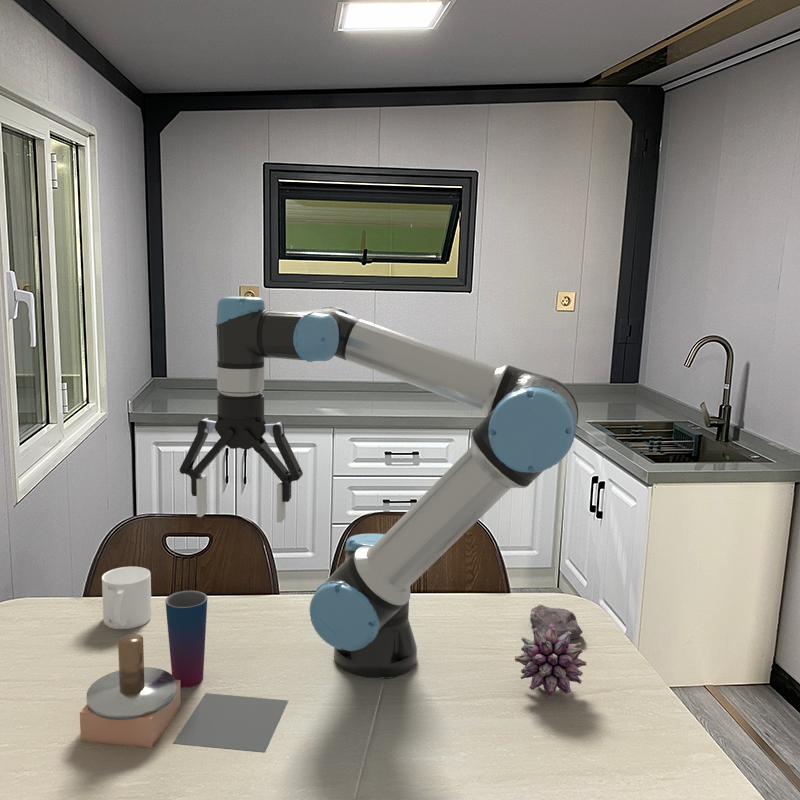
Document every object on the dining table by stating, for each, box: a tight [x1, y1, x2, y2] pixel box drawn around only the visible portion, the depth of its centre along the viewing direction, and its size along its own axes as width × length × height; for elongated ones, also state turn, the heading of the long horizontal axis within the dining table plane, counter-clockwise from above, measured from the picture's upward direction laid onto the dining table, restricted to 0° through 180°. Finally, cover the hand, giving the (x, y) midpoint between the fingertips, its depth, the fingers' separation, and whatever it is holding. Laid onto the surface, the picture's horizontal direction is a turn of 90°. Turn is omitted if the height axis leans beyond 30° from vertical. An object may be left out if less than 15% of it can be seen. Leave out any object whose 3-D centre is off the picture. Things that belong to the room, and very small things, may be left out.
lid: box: [86, 633, 176, 720], centre depth 121 cm, size 13×13×9 cm
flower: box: [514, 624, 587, 700], centre depth 134 cm, size 12×12×12 cm
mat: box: [172, 692, 289, 753], centre depth 124 cm, size 14×14×1 cm
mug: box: [101, 566, 153, 630], centre depth 156 cm, size 12×9×9 cm
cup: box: [164, 590, 208, 688], centre depth 134 cm, size 7×7×15 cm
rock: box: [529, 604, 584, 640], centre depth 158 cm, size 8×11×5 cm
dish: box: [79, 680, 182, 749], centre depth 122 cm, size 11×11×5 cm
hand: (241, 517), depth 133 cm, fingers open, 13 cm apart
